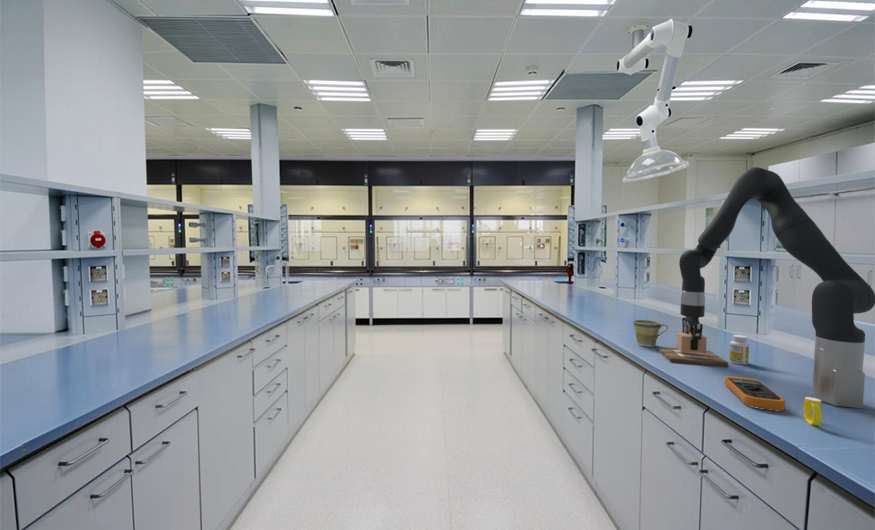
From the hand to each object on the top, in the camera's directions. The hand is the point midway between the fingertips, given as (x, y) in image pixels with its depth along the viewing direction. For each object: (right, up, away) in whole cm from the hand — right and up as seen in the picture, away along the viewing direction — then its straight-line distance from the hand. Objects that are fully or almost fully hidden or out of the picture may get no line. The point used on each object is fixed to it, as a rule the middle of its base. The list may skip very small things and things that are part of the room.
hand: (691, 347), depth 143 cm
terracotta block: (0, -1, 0) cm, 1 cm away
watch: (-6, -7, -52) cm, 53 cm away
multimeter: (-8, -7, -37) cm, 38 cm away
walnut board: (0, -4, 0) cm, 4 cm away
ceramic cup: (-5, -3, +18) cm, 19 cm away
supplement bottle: (+14, -5, -5) cm, 16 cm away
